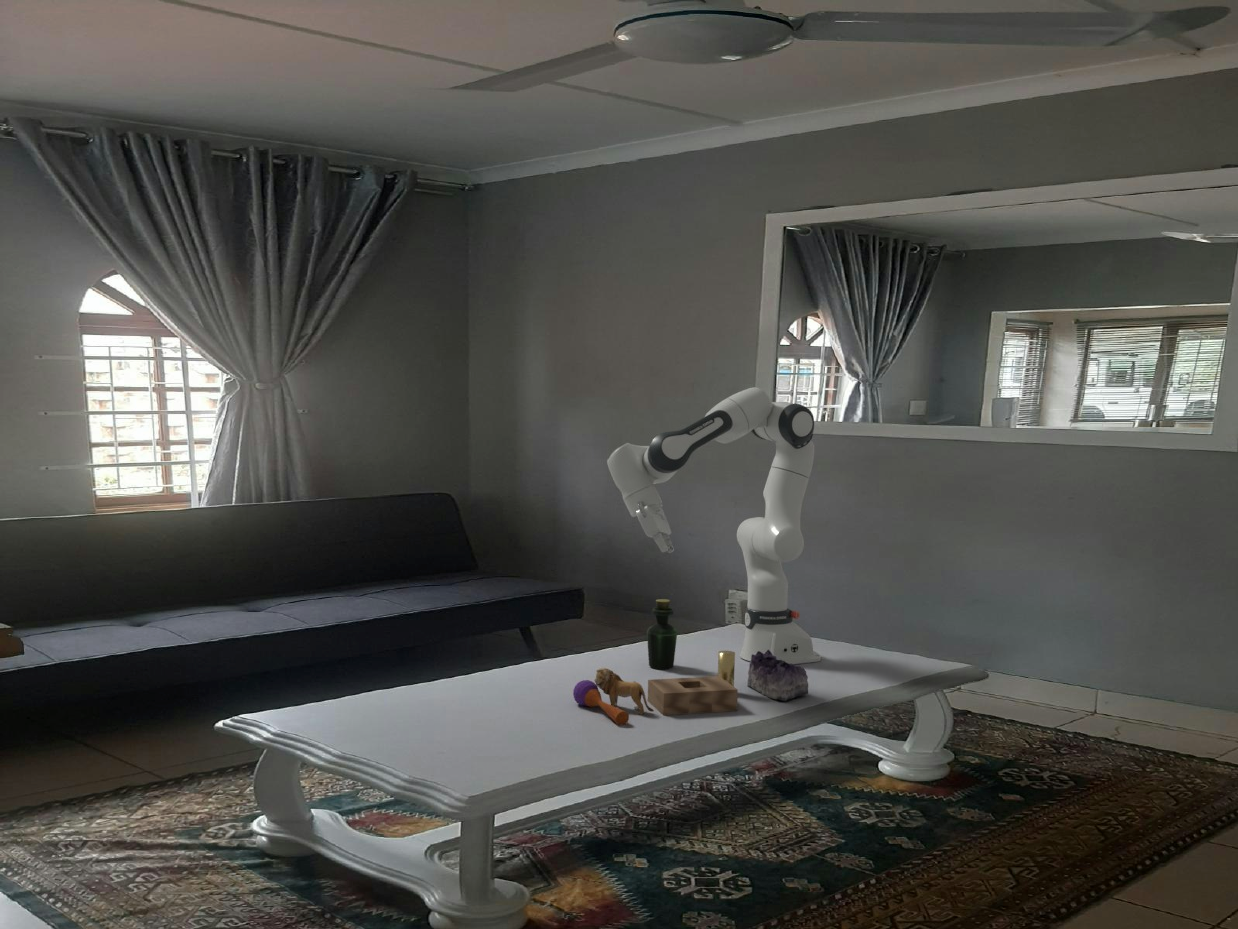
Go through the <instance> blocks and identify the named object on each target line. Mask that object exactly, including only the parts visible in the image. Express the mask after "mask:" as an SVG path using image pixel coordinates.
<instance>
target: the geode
mask: <svg viewBox="0 0 1238 929" xmlns="http://www.w3.org/2000/svg"><path fill="white" fill-rule="evenodd" d="M748 668H749V669H748V671H747V672H748V673H747V674H748V678H747V687H749V688H752V689H754V690H755V691H756V692H758V693H760V694H762V696H766V697H768V698H770V699H773V700H779V701H781V702H787V701H788V700H791V699H794V698H796V697H800V696H805V695H807V694H809V682H808V679H809V678H808V677H809V676H808V674H807V671H806V669H805V668H804V667H803V666H800V665H798V666H796V665H795V664H791V663H790V664H788V663H786V662H785V661H782V660H777V659H776V656H773V655H772V653H771V652H770V651H769V650H767V651H766V652H765V654H763V653H762V652H760V651H758V652H757V653H756V655H753V654H752V656H751V661H749V667H748Z"/></svg>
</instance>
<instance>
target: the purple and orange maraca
mask: <svg viewBox="0 0 1238 929" xmlns="http://www.w3.org/2000/svg"><path fill="white" fill-rule="evenodd" d="M572 692H573V693H572V695H573V699H574V701H575V702H576V703H577V704H578V705H580V706H581V707H590V708H591V707H598V706H599V707H600V708H601V709H602V710H603V711H604V712H605V713H606V714H607V716H609V717H610V718H611V719H612V720H613V721H614V723H615V724H617V725H618V726H623V725H627V723H628V721H629V718H630V716H629V713H628V712H627V711H625V710H623V709H620V708H618V707H616V706H612V705H611V704H609V703H608V702H605V701H603V700H602V695H601V692H600V691H599V687H598V686H596V683H595V681H592V680H588V679H586V680H584V679H583V680H581V681H578V682H577V683H576V684H575V686H574V687H573V691H572Z"/></svg>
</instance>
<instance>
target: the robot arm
mask: <svg viewBox="0 0 1238 929" xmlns="http://www.w3.org/2000/svg"><path fill="white" fill-rule="evenodd" d="M814 430H815V418H814V414H813V413H812V411H811V410H810V409H809V408H808V407H807V406H804V405H802V404H799V403H792V402H786V401H771V398H770V396H769V395H768V394H767V392H766V391H765V390H763V389H762V388H761V387H755V386H754V387H749V388H746V389H744V390H740V391H739V392H738V391H737V393H734V394H731V395H730V396H728V397H727V398H725V399H723V400H721V401H720V402H718V403H717V404H715V405H714V406H713V407H712V408H711V409H710V410H708V412H706V414H705V415H704V417H702V418H701V419H698V420H696V421H695V422H693V423H692V424H690V425H687V426H686V427H685V428H682V429H680V430H679V429H678V430H674V431H664V432H662V433H659V434H657V435H656V436H655V437H654V438H653V439H652V441H651V442H650V444H649V445H637V444H632V443H630V442H626V443H623V444H621V445H619V446H617V447H616V448H615V449H614V450H613V451H611V452H610V454H609V456H608V457H607V459H606V463H607V467H608V471H609V472H610V475H611V477H612V479H613V482H614V485H615V487H616V488H617V489H618V490H619V491H620V493H621V496H622V500H623V503H624V505H625V506H626V508H627V510H628V512H629V514H630V516H631V518H636V517H637V520H638V521H639V524H640V526H641V528H642V530H643V532H644V534H645V535H646V537H648V538H652V539H653V541H654V542H655V544H656V545H657V546H658V548H659V550H660V552H661V553H666V552H667V553H668V554H671V553H673V552H674V551H675V548H674V546H673V543H672V540H671V537H670V535H672V528H671V526H670V524H669V521H668V519H667V517H666V514H665V512H664V509H663V506H664V505H663V500H662V498H661V496H660V494H659V492H658V490H657V488H656V485H658V484H662V483H665V482H667V481H669V480H670V479H671V478H672V477H673V476H674V475H675V474H676V473H677V472H678V471H679V470H680V469H681V468H683V467H684V466H685V465H686V463H687V462H688V460H689V459H690V457H691V455H692V454H693V453H694V452H695V451H697V450H699V449H700V448H702V447H704V446H706V445H707V444H710V443H711V442H712V441H715V442H718V443H721V444H729V443H732V442H734V441H736V440H738V439H741V438H742V437H744V436H745V435H747V434H749V433H752V435H753V436H755V437H757V438H758V439H760V440H767V441H771V442H774V443H775V455H774V457H773V460H772V463H771V467H770V470H769V473H768V475H767V478H766V482H765V485H764V489H763V492H762V493H763V495H762V496H763V499H764V503H765V512H764V517H762V516H758V517H757V516H755V517H750V518H747V519H744V521H742V522H741V523H740V524H739V526H738V528H737V531H736V540H737V543H738V545H739V546H740V548H741V552H742V554H743V559H744V565H745V569H746V577H747V603H746V604H747V606H746V607H745V615H744V625H745V634H744V638H743V643H742V648H741V652H740V653H739V657H740V658H741V659H743V660H745V661H748V662H750V661H751V656H752V654H753V655H756V653H757V652H758V651H760V652H762V653H763V654H765V652H766V651H767V650H769V651H770V652H771V653H772V655H773V656H776V659H777V660H782V661H785V662H786V663H788V664H790V663H791V664H794V665H799V664H806V663H807V664H808V663H818V662H821V661H822V656H821V655H820V654H819V653H818V652H816V651H814V645H813V641H812V638H811V636H810V635H809V634H808V633H807V632H806V631H805V630H804V629H803V628H802V627H800V626H799V625H797V624H796V623H795V622H793V619H795V620H798V619H799V618H800V615H801V614H800V613H799V611H796V610H791V609H789V608H788V595H789V594H788V593H789V590H788V588H789V587H788V586H789V582H788V579H787V577H786V574H785V573H784V570H783V567H782V563H786V562H792V561H794V560H797V559H798V558H799V557H800V556H801V554H802V553H803V550H804V546H805V539H804V535H803V534H802V530H801V511H802V505H803V502H804V497H805V495H806V490H807V487H808V483H809V480H810V476H811V473H812V469H813V465H814V460H815V450H816V448H815V444H814V442H813V441H812V438H813V436H814Z"/></svg>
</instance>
